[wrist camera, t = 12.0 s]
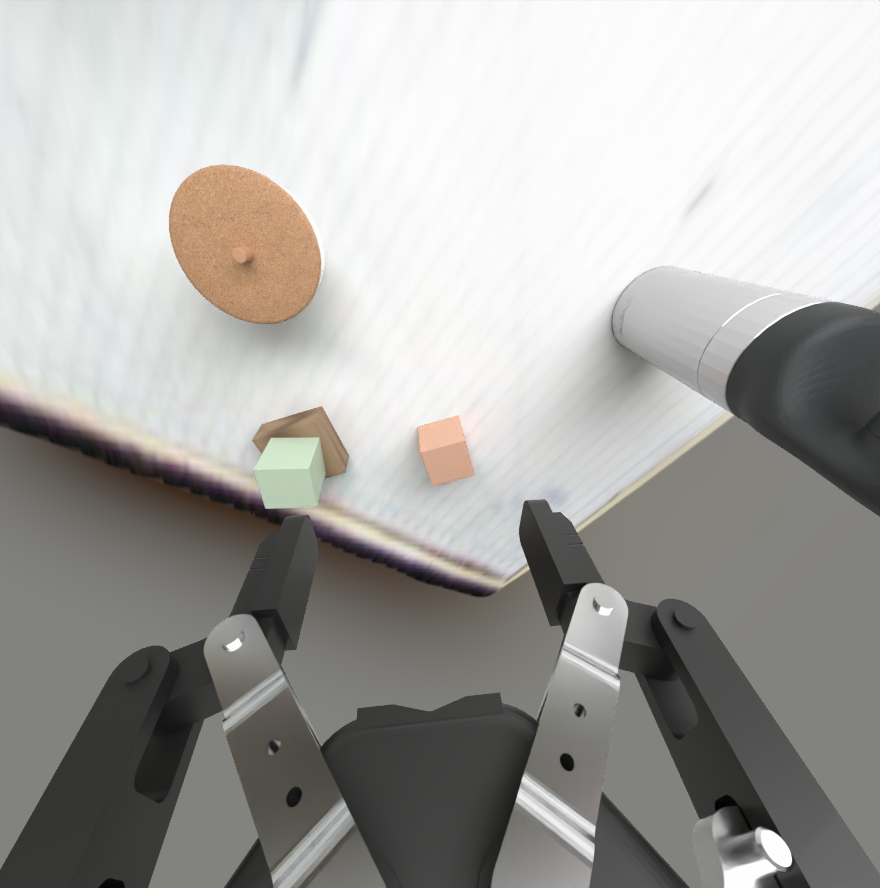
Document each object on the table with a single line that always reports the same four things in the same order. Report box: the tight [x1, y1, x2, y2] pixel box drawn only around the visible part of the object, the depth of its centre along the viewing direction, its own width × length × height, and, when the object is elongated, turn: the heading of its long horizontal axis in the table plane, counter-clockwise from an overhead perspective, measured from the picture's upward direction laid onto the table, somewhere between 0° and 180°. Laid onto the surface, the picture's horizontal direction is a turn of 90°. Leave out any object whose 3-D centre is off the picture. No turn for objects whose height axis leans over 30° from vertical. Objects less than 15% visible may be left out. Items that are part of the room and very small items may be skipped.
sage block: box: [253, 437, 326, 509], centre depth 40 cm, size 6×6×6 cm
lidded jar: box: [169, 165, 325, 324], centre depth 29 cm, size 11×11×9 cm
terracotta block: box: [418, 416, 475, 486], centre depth 45 cm, size 6×6×6 cm
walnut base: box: [252, 406, 349, 478], centre depth 44 cm, size 8×8×4 cm
